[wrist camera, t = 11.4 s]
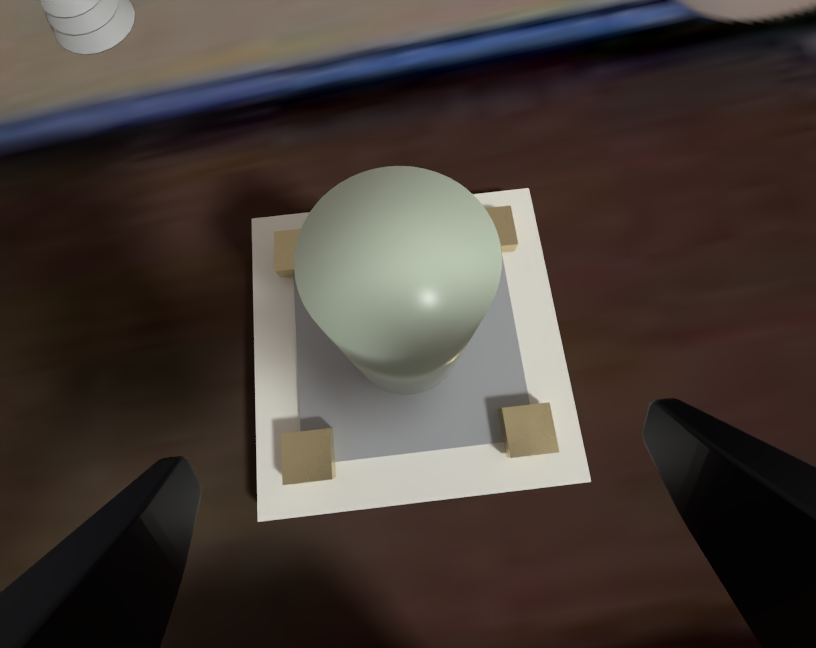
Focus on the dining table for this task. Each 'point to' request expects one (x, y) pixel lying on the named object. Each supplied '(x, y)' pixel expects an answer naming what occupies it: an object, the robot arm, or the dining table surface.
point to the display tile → (412, 413)
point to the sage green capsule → (399, 273)
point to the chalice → (89, 23)
